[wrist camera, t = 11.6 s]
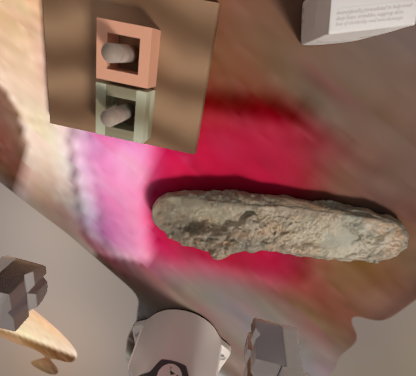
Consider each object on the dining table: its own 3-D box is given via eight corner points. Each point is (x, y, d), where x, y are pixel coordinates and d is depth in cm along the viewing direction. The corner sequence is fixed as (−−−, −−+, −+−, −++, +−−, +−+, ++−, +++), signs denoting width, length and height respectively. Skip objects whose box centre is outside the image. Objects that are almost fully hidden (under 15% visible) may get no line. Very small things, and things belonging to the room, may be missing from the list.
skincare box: (300, 46, 32) (323, 40, 21) (302, -1, 30) (328, -34, 19) (359, 41, 31) (416, 31, 20) (364, -9, 29) (430, -49, 18)
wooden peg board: (196, 151, 39) (184, 170, 32) (57, 120, 40) (17, 133, 33) (220, 5, 32) (211, -10, 25) (49, -27, 33) (-4, -49, 26)
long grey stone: (384, 258, 43) (404, 197, 40) (403, 281, 38) (428, 214, 35) (155, 237, 45) (154, 177, 42) (145, 256, 41) (143, 191, 37)
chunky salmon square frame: (160, 30, 32) (152, 28, 29) (155, 86, 35) (147, 88, 32) (109, 20, 32) (96, 17, 30) (108, 76, 35) (96, 78, 32)
